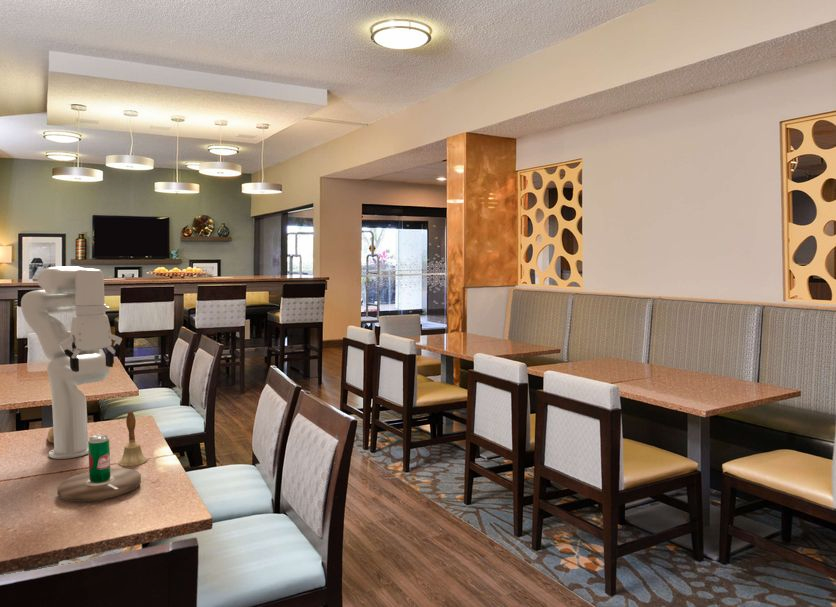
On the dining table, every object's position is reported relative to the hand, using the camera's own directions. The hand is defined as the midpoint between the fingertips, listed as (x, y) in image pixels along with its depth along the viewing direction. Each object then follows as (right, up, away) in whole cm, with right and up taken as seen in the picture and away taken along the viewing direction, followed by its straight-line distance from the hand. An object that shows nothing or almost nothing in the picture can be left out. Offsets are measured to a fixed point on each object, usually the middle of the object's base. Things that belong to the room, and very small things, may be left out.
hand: (92, 368), depth 177 cm
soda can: (+10, -29, -14) cm, 34 cm away
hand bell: (+8, -30, +9) cm, 32 cm away
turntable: (+10, -30, -14) cm, 35 cm away
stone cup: (-27, -28, +33) cm, 51 cm away
